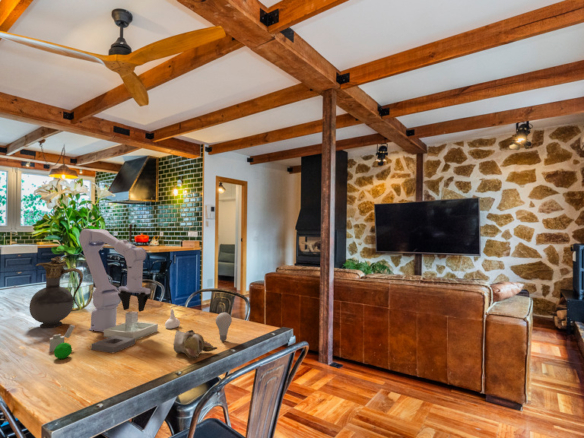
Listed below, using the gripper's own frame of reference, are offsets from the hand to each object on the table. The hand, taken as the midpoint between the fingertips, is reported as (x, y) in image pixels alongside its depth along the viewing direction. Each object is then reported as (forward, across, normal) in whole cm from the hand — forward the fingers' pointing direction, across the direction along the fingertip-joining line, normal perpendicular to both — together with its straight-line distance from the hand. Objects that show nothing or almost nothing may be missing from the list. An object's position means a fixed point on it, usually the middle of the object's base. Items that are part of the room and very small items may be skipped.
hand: (133, 310), depth 138 cm
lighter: (+10, -9, -23) cm, 27 cm away
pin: (+9, 0, -1) cm, 9 cm away
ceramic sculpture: (+10, +36, -12) cm, 39 cm away
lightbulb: (+10, +39, +4) cm, 41 cm away
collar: (+9, +6, -15) cm, 19 cm away
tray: (+9, 0, -1) cm, 9 cm away
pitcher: (+10, -40, -2) cm, 41 cm away
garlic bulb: (+10, +9, +13) cm, 19 cm away
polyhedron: (+10, -1, -29) cm, 31 cm away
